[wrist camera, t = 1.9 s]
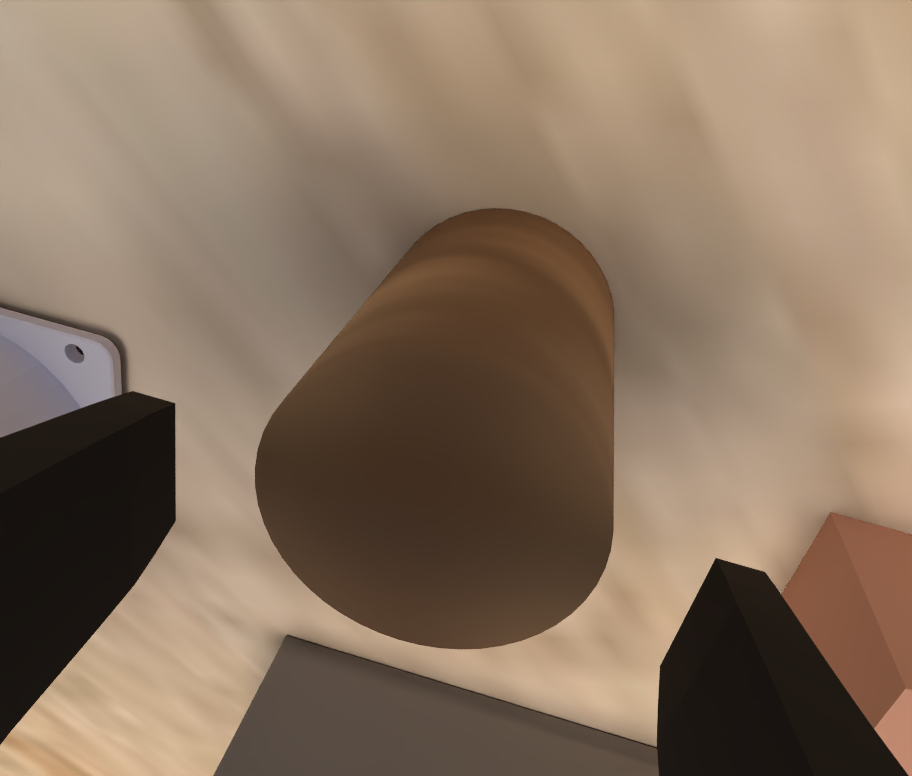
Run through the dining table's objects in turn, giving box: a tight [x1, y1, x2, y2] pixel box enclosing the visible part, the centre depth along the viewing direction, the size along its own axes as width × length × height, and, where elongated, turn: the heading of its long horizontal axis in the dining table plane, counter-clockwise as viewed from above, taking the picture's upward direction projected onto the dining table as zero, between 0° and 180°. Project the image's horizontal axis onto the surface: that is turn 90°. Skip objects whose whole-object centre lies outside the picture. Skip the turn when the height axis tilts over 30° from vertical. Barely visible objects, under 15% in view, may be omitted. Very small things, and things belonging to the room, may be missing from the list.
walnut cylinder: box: [255, 208, 614, 649], centre depth 13 cm, size 5×5×7 cm
